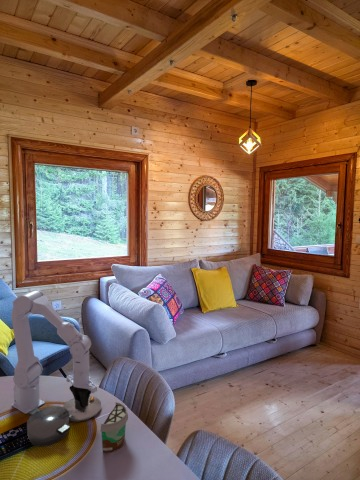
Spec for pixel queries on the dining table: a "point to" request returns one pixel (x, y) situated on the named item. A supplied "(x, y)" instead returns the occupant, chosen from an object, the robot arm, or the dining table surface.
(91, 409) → the cooker lid
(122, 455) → the dining table surface
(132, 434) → the dining table surface
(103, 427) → the food container
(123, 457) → the dining table surface
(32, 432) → the cooker pot
